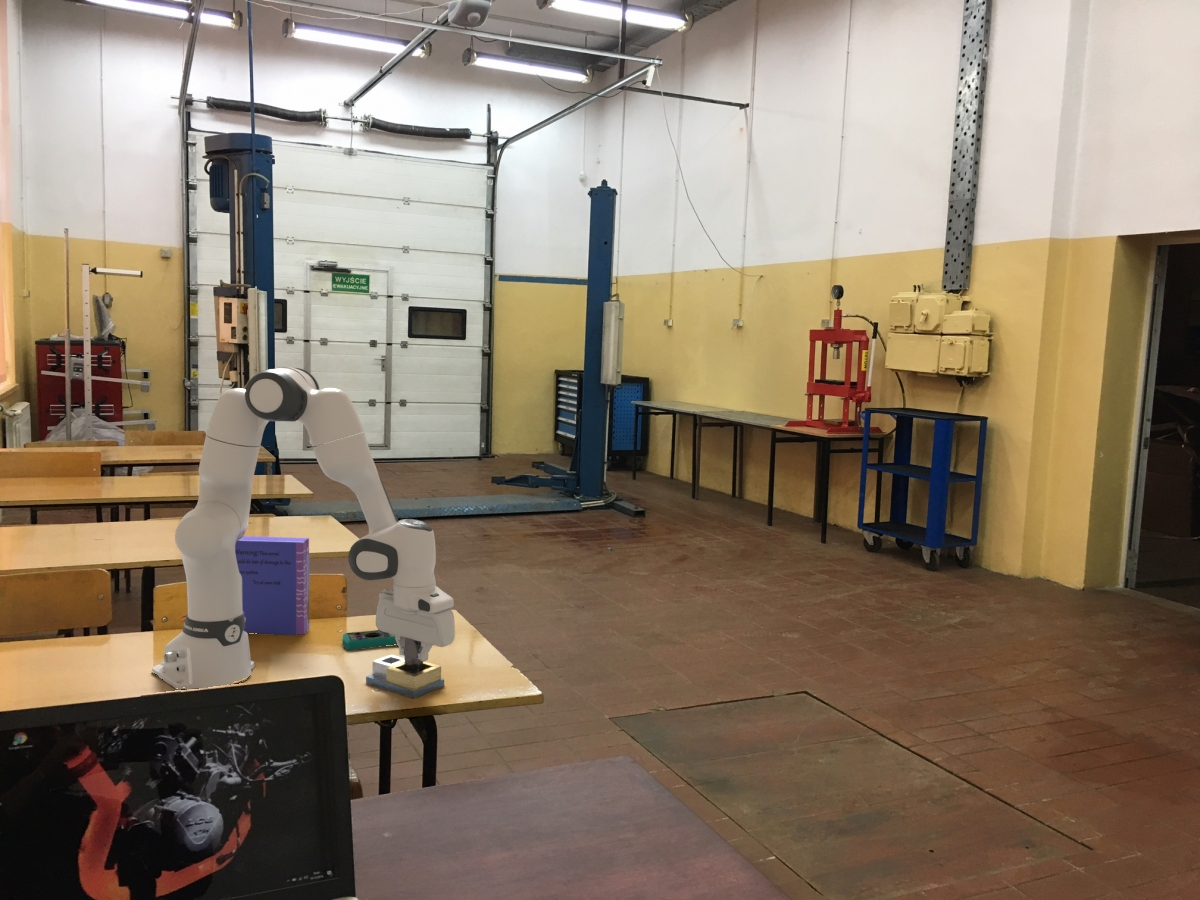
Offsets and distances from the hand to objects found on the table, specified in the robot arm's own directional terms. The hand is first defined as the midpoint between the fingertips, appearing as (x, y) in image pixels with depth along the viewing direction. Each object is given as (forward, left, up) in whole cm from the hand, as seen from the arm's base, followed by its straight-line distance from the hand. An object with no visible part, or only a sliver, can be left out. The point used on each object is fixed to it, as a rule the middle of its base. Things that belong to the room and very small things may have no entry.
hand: (413, 657), depth 206 cm
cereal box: (-54, +6, -7) cm, 55 cm away
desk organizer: (-2, 0, -7) cm, 7 cm away
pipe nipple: (0, 0, -4) cm, 4 cm away
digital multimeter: (-28, +15, -7) cm, 33 cm away
